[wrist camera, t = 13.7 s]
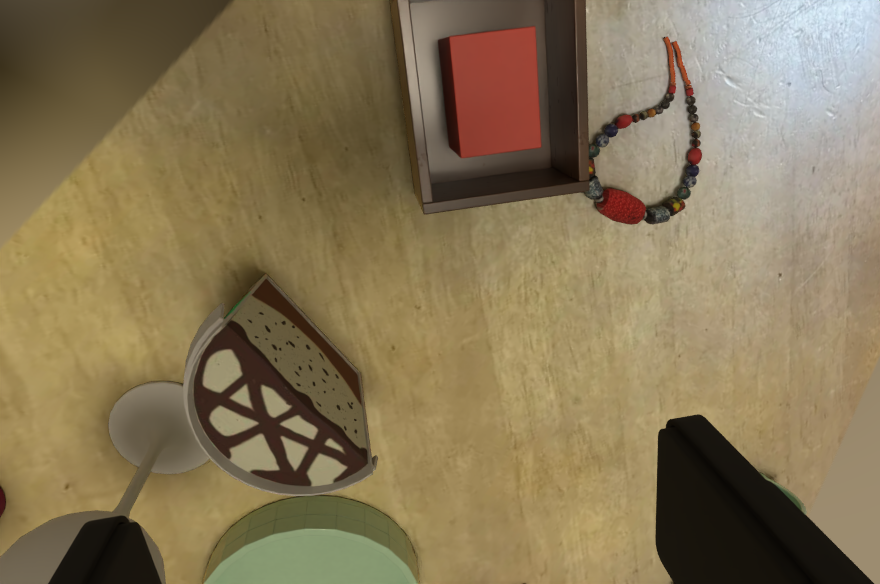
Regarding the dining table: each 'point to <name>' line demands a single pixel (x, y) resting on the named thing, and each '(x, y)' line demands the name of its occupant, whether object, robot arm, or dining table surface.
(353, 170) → the dining table surface
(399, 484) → the dining table surface
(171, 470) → the wineglass
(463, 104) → the block
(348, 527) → the bowl
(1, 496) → the cup
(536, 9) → the box
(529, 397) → the dining table surface
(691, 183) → the necklace
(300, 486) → the cake cutout
